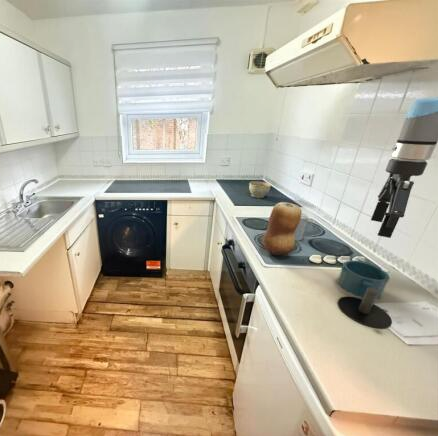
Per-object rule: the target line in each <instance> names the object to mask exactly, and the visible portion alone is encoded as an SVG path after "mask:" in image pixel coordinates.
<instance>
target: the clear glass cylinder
mask: <svg viewBox="0 0 438 436" xmlns="http://www.w3.org/2000/svg"><path fill="white" fill-rule="evenodd" d="M309 218H310V217H309V215H307V214H306V213H303V212H302V213H301V219H300V222H299V224H298V226H297V228H296V230H295V232H294V236H295V241H300V240H303V237H304V234H305V230H306V227H307V223H308V221H309Z"/></svg>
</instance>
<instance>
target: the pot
mask: <svg viewBox="0 0 438 436" xmlns="http://www.w3.org/2000/svg"><path fill="white" fill-rule="evenodd" d="M389 281H390V275H389V273H387V272H386V270H384V269H382V268H380V267H379V266H376V265H373V264H371V263H368V262H367V261H365V260H361V259H357V260H347V261H345V262H343V264H342V267H341V269H340V272H339V274H338V277H337V284H338V286H339V287H340V288H341V289H343V290H344V291H345V292H347V293H349V294H351V295H353V296H354V297H357V298H360V299H363V297H364V295H365V292H366V290H367V288H368V287H371V288H375V289H377V290H378V291H379V294H378V296H377V298H376V300H378V299H380V298H381V297H382V295H383V293H384V291H385V288H386V287H387V285H388V283H389Z"/></svg>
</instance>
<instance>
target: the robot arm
mask: <svg viewBox="0 0 438 436" xmlns="http://www.w3.org/2000/svg"><path fill="white" fill-rule="evenodd" d="M437 144H438V97H424V98H418V99H416V100H414V101H413V102H412V103H411V106H410V107H409V109H408V112H407V114H406V115H405V118H404V121H403V124H402V126H401V129H400V132H399V135H398V138H397V140H396V143H395V145H393V146H391V150H392V153H391V157H392V158H391V159H389V160H388V163H387V165H386V168H385V172H386V173H388V174H389V175H388V178H387V180H385V183H384V184H383V186H382V188H381V190H380V192H379V194H378V195H377V198H378V199H377V203H376V205H375V208H374V210H373V213H372V216H371V218H370V221H372V222H376V223H377V222H378V223H381V226H380V228H379V230H378V231H377V232H378V233H377V236H378V237H383V238H388V239H391V238H392V235H393V234H394V231H395V228H397V227H396V226H397V224H398V222H399V221H400V218H404V217H405V213H406V209H407V206H408V203H409V198H410V196H411V195H410V194H411V191H412V188H413V186H414V184H415V181H414V180H413V181H412V180H411V178H412V177H413V176H414V177H419V176H422V175H423V174H424V172H425V170H426V168H427V166H428V162H427V161H429V160H430V159H431V157H432V155H433V153H434V151H435V148H436V146H437ZM387 211H388V212H387Z"/></svg>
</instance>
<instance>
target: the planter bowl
mask: <svg viewBox="0 0 438 436" xmlns="http://www.w3.org/2000/svg"><path fill="white" fill-rule="evenodd" d="M271 187H272V184H271V183H269V182H266V181H250V182H249V184H248V188H249V193H250V194H251V197H253V198H257V199H263V198H265V196H266V195H267V194H268V193H269V192H270V190H271Z"/></svg>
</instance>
